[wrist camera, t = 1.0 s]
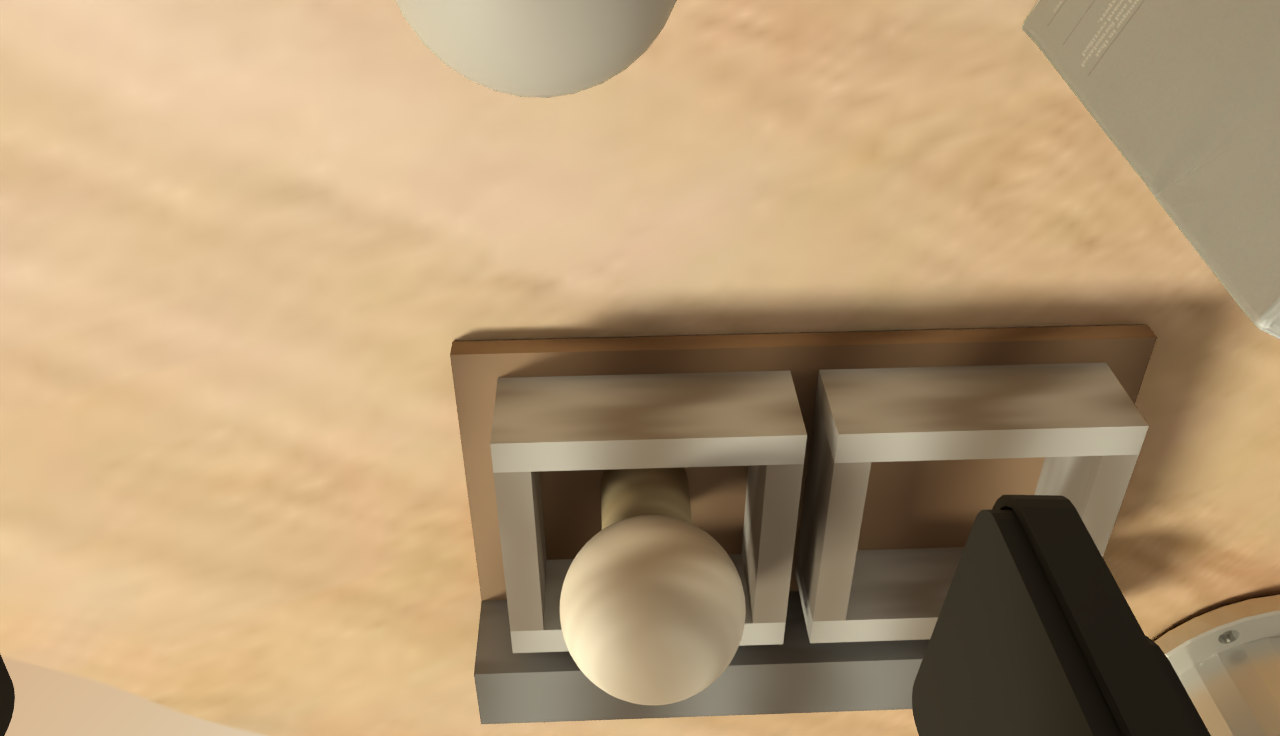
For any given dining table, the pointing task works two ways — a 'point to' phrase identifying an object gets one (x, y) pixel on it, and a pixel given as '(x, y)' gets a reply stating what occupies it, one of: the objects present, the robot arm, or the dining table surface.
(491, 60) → the lightbulb
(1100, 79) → the skincare box
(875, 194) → the dining table surface
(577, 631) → the compartment tray
